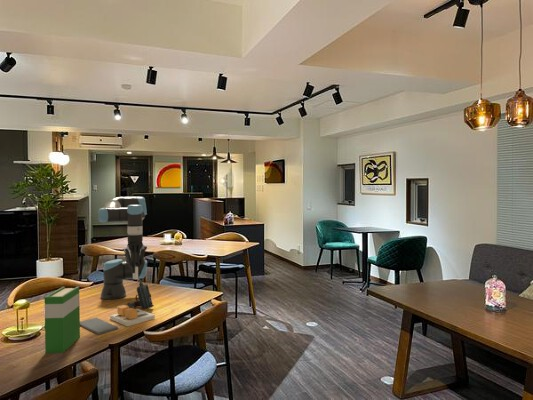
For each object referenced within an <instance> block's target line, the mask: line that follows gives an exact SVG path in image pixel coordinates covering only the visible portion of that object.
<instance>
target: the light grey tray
mask: <svg viewBox="0 0 533 400" xmlns="http://www.w3.org/2000/svg"><path fill="white" fill-rule="evenodd" d="M135 309H136V310H137V318H133V319H128V318H126V317H125V315H124V316H121V315H119V314H117V313H115V314H110V315H109V318H110V320H112V321H113V322H117V323H118V324H121V325H123V326H125V327H130V326H134V325H137V324H138V325H139V324H140V323H141V324H142V323H144V322H147V321H151V320H155V318H156V317H155V313H154V314H153V313H150V312H148V311H144V309H140V308H135Z"/></svg>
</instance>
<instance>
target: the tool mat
mask: <svg viewBox="0 0 533 400" xmlns="http://www.w3.org/2000/svg"><path fill="white" fill-rule="evenodd" d="M80 327H81V328H84V329H86V330H88V331H90V332H92V333H94V334H96V335H102V334H105V333H108V332H109V333H110V332H113V331H115V330H118V329H119V328H118V326H117V325H114V324H112V323H109V322H108V321H105V320H103V319H101V318H98V317H94V318H93V317H92V318H89V319H85V320H80Z"/></svg>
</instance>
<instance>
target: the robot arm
mask: <svg viewBox="0 0 533 400" xmlns="http://www.w3.org/2000/svg"><path fill="white" fill-rule="evenodd" d="M147 211H148V210H147V203H146V199H145V197H144V196H117V197H114V198H113V197H112V198H111V199H108V200H107V201H106V202H105V204H104V206H103V207H102V208H101V207H100V208H99V209H98V213H97V214H98V215H97V216H98V222H100V223H112V222H113V223H121V222H123V223H126V222H127V229H126V230H127V245H126V247H124V248H123V249H122V250H123V252H124V255H125V261H124V260H123V259H121V258H120V259H119V258H118V259H117V258H116V259H112V260H108V261H106V262H104V264H103V286H102V289H101V292H100V298H101V299H103V300H116V299H117V300H119V299H122V298H124V297H126V296H127V291H126V288H125V286H124V280H140V279H144V278H145V277H146V275H147V270H148V269H147V267H148V260H147V259H146V257H145V255H146V251H147V248H148V247H147V245H144V243H143V241H144V240H143V239H144V238H143V237H144V235H143V232H144V231H143V220H144V219H145V217H146V215H148V213H147Z"/></svg>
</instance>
